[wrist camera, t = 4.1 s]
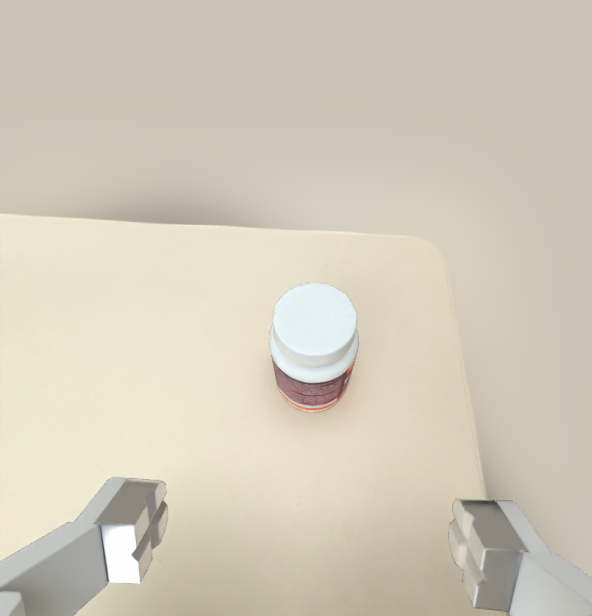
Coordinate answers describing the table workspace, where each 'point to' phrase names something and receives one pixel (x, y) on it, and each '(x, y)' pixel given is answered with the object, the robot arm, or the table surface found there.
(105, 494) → the robot arm
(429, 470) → the table surface
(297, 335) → the pill bottle
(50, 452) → the table surface
